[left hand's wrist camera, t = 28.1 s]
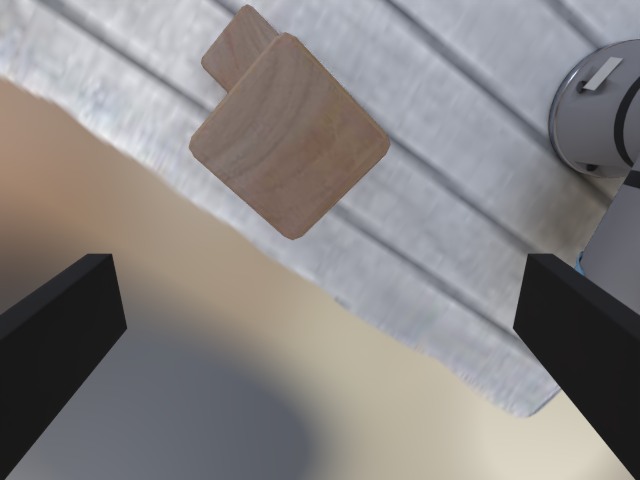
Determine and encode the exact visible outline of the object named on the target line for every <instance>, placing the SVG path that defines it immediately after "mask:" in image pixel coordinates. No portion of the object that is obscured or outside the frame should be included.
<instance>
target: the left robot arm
mask: <svg viewBox="0 0 640 480" xmlns="http://www.w3.org/2000/svg"><path fill="white" fill-rule="evenodd" d="M549 132H550V138H551V142H552V145H553V148H554V150H555V152H556V153H557V155H558V156H559V158H560V159H561V160H562V161H563V162H564V163H565V164H566V165H567V166H569V167H570V168H572V169H574V170H576V171H578V172H580V173H584V174H587V175H590V176H594V177H602V178H617V177H625V176H627V178H626V179H625V181H624V183H623V184H622V186H621V187H620V189H619V191H618V193H617V194H616V196H615V198H614V199H613V201H612V203H611V205H610V206H609V208H608V210H607V212H606V213H605V215H604V217H603V219H602V220H601V222H600V224H599V226H598V227H597V229H596V231H595V233H594V234H593V236H592V238H591V240H590V241H589V243H588V245H587V247H586V248H585V250H584V251H583V252H581V253H580V254H579V256H578V258H577V263H576V267H575V269H573V268H572V267H571V266H569V265H568V264H566V263H565V262H563V261H562V260H561V259H559V258H558V257H556V256H555V255H553V254H528V257H527V261H526V266H525V271H524V276H523V281H522V286H521V291H520V296H519V300H518V305H517V310H516V315H515V320H514V325H513V329H514V331H515V332H516V333H517V334H518V335H519V337H520V338H521V339H522V340H523V342H524V343H525V344H526V345H527V347H528V348H529V349H530V350H531V352H532V353H533V354H534V355H535V356H536V358H537V359H538V360H539V361H540V363H541V364H542V365H543V366H544V368H545V369H546V370H547V371H548V372H549V374H550V375H551V376H552V377H553V379H554V380H555V381H556V382H557V384H558V385H559V386H560V387H561V389H562V390H563V391H564V392H565V393H566V395H567V396H568V397H569V398H570V400H571V401H572V402H573V403H574V405H575V406H576V407H577V408H578V409H579V411H580V412H581V413H582V414H583V416H584V417H585V418H586V419H587V421H588V422H589V423H590V424H591V426H592V427H593V428H594V429H595V430H596V432H597V433H598V434H599V435H600V437H601V438H602V439H603V440H604V442H605V443H606V444H607V445H608V447H609V448H610V449H611V450H612V451H613V453H614V454H615V455H616V456H617V458H618V459H619V460H620V461H621V463H622V464H623V465H624V466H625V467H626V469H627V470H628V471H629V472H630V474H631V475H632V476H633V477H634V479H635V480H640V39H637V40H629V41H623V42H618V43H614V44H611V45H608V46H605V47H603V48H601V49H599V50H597V51H595V52H593V53H592V54H590V55H589V56H587V57H586V58H585V59H583V60H582V61H581V62H580V63H579V64H578V65H577V66H576V67H575V68H574V69H573V70H572V71H571V72H570V73H569V74H568V76H567V77H566V78H565V80H564V81H563V83H562V84H561V86H560V88H559V90H558V92H557V94H556V96H555V98H554V101H553V104H552V108H551V112H550V119H549ZM631 186H632V187H631ZM634 187H635V188H634ZM638 188H639V189H638ZM126 329H127V325H126V320H125V315H124V310H123V305H122V301H121V296H120V291H119V286H118V281H117V276H116V271H115V266H114V261H113V257H112V254H87V255H85V256H84V257H82V258H81V259H79V260H78V261H77V262H75V263H74V264H72V265H71V266H70V267H68V268H67V269H65V270H64V271H62V272H61V273H59V274H58V275H57V276H55V277H54V278H52V279H51V280H50V281H48V282H47V283H45V284H44V285H42V286H41V287H40V288H38V289H37V290H35V291H34V292H33V293H31V294H30V295H28V296H27V297H25V298H24V299H22V300H21V301H20V302H18V303H17V304H15V305H14V306H13V307H11V308H10V309H8V310H7V311H5V312H4V313H3V314H1V315H0V480H5V479H6V477H7V476H8V475H9V474H10V472H11V471H12V470H13V469H14V467H15V466H16V465H17V464H18V463H19V461H20V460H21V459H22V458H23V456H24V455H25V454H26V453H27V451H28V450H29V449H30V448H31V447H32V445H33V444H34V443H35V442H36V440H37V439H38V438H39V437H40V435H41V434H42V433H43V432H44V430H45V429H46V428H47V427H48V426H49V424H50V423H51V422H52V421H53V419H54V418H55V417H56V416H57V414H58V413H59V412H60V411H61V409H62V408H63V407H64V406H65V405H66V403H67V402H68V401H69V400H70V398H71V397H72V396H73V395H74V393H75V392H76V391H77V390H78V388H79V387H80V386H81V385H82V384H83V382H84V381H85V380H86V379H87V377H88V376H89V375H90V374H91V372H92V371H93V370H94V369H95V367H96V366H97V365H98V364H99V363H100V361H101V360H102V359H103V358H104V356H105V355H106V354H107V353H108V352H109V350H110V349H111V348H112V347H113V345H114V344H115V343H116V342H117V340H118V339H119V338H120V337H121V335H122V334H123V333H124V332H125V331H126Z"/></svg>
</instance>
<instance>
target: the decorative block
mask: <svg viewBox="0 0 640 480" xmlns="http://www.w3.org/2000/svg"><path fill="white" fill-rule="evenodd" d="M201 64H202V66H203V68H204V69H205V70H206V71H207V72H208V73H209V74H210V75H211V76H212V77H213V78H214V79H215V80H216V81H217V82H218V83H219V84H220V85H221V86H222V87H223V88H224V89H225V90H226V91H227V92H228V94H227V95H226V96H225V98H224V99H223V100H222V101H221V102H220V104H219V105H218V106H217V107H216V108H215V110H214V111H213V112H212V113H211V114H210V116H209V117H208V118H207V119H206V120H205V122H204V123H203V124H202V125H201V126H200V128H199V129H198V130H197V131H196V132H195V134H194V135H193V136H192V137H191V141H190V145H189V149H190V150H191V152H192V154H193V156H194V157H195V158H196V159H197V160H198V161H199V162H201V163H202V164H203V165H204V166H205V167H206V168H207V169H209V170H210V171H211V172H212V173H213V174H214V175H215V176H216V177H218V178H219V179H220V180H221V181H222V182H223V183H224V184H225V185H227V186H228V187H229V188H230V189H231V190H232V191H233V192H235V193H236V194H237V195H238V196H239V197H240V198H241V199H242V200H244V201H245V202H246V203H247V204H248V205H249V206H250V207H251V208H253V209H254V210H255V211H256V212H257V213H258V214H259V215H261V216H262V217H263V218H264V219H265V220H266V221H267V222H268V223H270V224H271V225H272V226H273V227H274V228H275V229H276V230H277V231H279V232H280V233H281V234H282V235H283V236H284V237H287V238H289V239H291V240H294V239H297V238H299V237H302V236H303V235H304V234H305V233H306V232H307V231H308V230H309V229H310V228H311V227H312V226H313V225H314V224H315V223H316V222H317V221H318V220H319V219H320V218H321V217H322V216H323V215H324V214H325V213H327V212H328V211H329V210H330V209H331V208H332V207H333V206H334V205H335V204H336V203H337V202H338V201H339V200H340V199H341V198H342V197H343V196H344V195H345V194H346V193H347V192H348V191H349V190H350V189H351V188H352V187H353V186H354V185H355V184H356V183H357V182H358V181H359V180H360V179H361V178H362V177H363V176H364V175H365V174H366V173H367V172H368V171H369V170H370V169H371V168H372V167H373V166H374V165H375V164H377V163H378V162H379V161H380V160H381V159H382V158H383V157H384V156H385V155H386V153H387V151H388V149H389V147H390V141H389V138H388V136H387V134H386V133H385V132H384V131H383V129H382V128H381V127H380V126H379V125H378V124H377V123H376V122H375V121H374V120H373V119H372V118H371V117H370V116H369V115H368V113H367V112H366V111H365V110H364V109H363V108H362V107H361V106H360V105H359V104H358V103H357V102H356V101H355V100H354V99H353V97H352V96H351V95H350V94H349V93H348V92H347V91H346V90H345V89H344V88H343V87H342V86H341V85H340V84H339V83H338V81H337V80H336V79H335V78H334V77H333V76H332V75H331V74H330V73H329V72H328V71H327V70H326V69H325V68H324V67H323V65H322V64H321V63H320V62H319V61H318V60H317V59H316V58H315V57H314V56H313V55H312V54H311V53H310V52H309V51H308V50H307V48H306V47H305V46H304V45H303V44H302V43H301V42H300V41H299V40H298V39H297V38H296V37H294V36H292V35H290V34H288V33H283V34H281V35H279V34H278V33H277V32H276V31H275V30H274V29H273V28H272V27H271V26H270V25H269V24H268V22H267V21H266V20H265V19H264V18H263V17H262V16H261V15H260V14H259V13H258V12H257V11H256V10H255V9H254V8H253V7H252V6H250V5H245V6H243V7H242V8H241V9H240V11H239V12H238V13H237V14H236V16H235V17H234V18H233V19H232V21H231V22H230V23H229V24H228V26H227V27H226V28H225V29H224V31H223V32H222V33H221V35H220V36H219V37H218V38H217V40H216V41H215V42H214V43H213V45H212V46H211V47H210V48H209V50H208V51H207V52H206V54H205V55H204V56H203V57H202V60H201Z"/></svg>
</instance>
